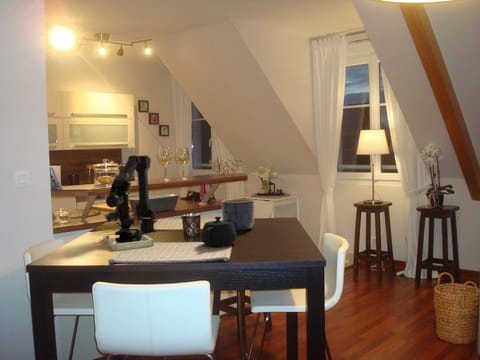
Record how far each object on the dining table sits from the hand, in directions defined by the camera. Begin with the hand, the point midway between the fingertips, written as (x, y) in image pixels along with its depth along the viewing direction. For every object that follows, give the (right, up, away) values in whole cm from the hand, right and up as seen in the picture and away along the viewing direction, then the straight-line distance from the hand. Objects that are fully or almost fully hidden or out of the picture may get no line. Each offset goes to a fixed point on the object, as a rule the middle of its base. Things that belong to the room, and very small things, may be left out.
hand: (124, 237), depth 225 cm
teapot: (+46, -1, -16) cm, 49 cm away
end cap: (+4, -2, -7) cm, 8 cm away
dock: (-2, -1, +5) cm, 6 cm away
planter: (+54, +2, +20) cm, 57 cm away
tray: (+5, -2, -10) cm, 12 cm away
